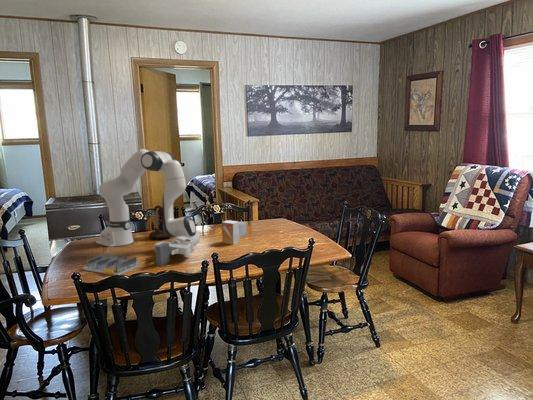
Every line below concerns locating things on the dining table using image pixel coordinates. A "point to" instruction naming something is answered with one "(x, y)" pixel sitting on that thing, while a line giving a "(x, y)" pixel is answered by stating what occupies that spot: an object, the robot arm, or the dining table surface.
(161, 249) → the grey rectangular block
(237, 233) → the small box
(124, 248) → the dining table surface
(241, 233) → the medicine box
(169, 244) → the robot arm
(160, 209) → the brown statue
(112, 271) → the rack
